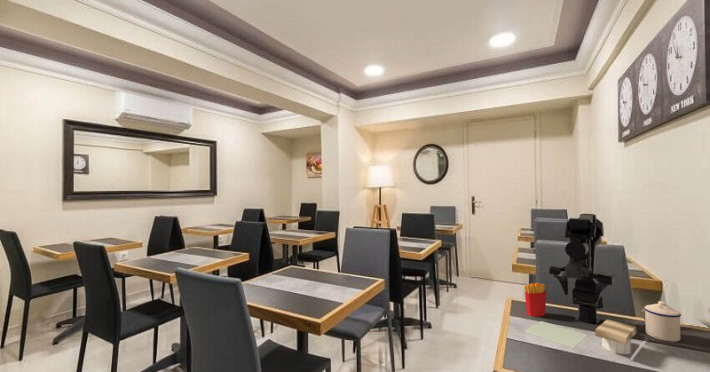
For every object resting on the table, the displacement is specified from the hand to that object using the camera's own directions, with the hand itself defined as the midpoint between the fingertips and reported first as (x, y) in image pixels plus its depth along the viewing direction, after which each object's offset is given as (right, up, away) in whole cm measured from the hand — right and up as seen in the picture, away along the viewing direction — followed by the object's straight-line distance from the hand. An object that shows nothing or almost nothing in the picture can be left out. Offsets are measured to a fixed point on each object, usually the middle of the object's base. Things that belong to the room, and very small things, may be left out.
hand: (581, 298), depth 113 cm
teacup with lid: (+26, -12, -2) cm, 28 cm away
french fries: (-8, -12, +15) cm, 21 cm away
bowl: (+2, -12, -12) cm, 17 cm away
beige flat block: (+2, -7, -12) cm, 14 cm away
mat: (-10, -12, -2) cm, 16 cm away
